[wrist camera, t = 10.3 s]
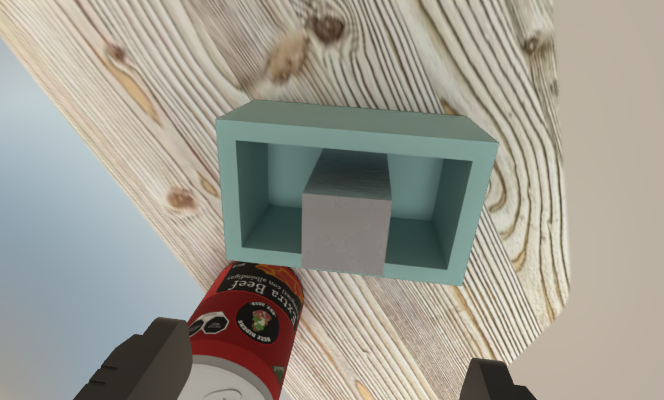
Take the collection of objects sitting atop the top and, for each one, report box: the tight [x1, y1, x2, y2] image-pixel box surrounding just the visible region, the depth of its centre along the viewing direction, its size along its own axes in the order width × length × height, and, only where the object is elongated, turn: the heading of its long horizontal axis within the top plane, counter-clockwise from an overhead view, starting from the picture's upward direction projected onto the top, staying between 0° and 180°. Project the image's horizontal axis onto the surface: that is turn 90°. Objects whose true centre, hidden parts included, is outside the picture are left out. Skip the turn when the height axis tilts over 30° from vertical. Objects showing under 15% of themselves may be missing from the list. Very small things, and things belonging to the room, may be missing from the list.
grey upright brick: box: [301, 148, 392, 276], centre depth 21 cm, size 4×4×9 cm
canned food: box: [177, 261, 303, 400], centre depth 26 cm, size 8×8×11 cm
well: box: [215, 100, 499, 286], centre depth 22 cm, size 8×14×7 cm, turn 87°
